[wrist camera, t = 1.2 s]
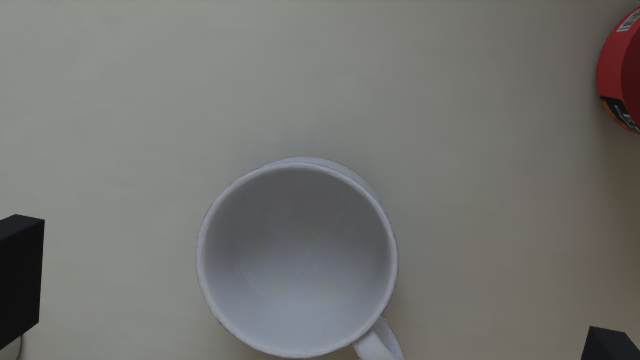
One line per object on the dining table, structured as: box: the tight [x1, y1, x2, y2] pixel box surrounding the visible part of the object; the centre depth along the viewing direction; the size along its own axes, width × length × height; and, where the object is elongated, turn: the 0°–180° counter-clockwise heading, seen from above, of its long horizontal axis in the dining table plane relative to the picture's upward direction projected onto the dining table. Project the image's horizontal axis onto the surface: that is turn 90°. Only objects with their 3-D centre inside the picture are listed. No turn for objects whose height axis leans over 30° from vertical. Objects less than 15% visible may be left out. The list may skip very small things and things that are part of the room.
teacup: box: [196, 157, 404, 360], centre depth 36 cm, size 14×11×8 cm
